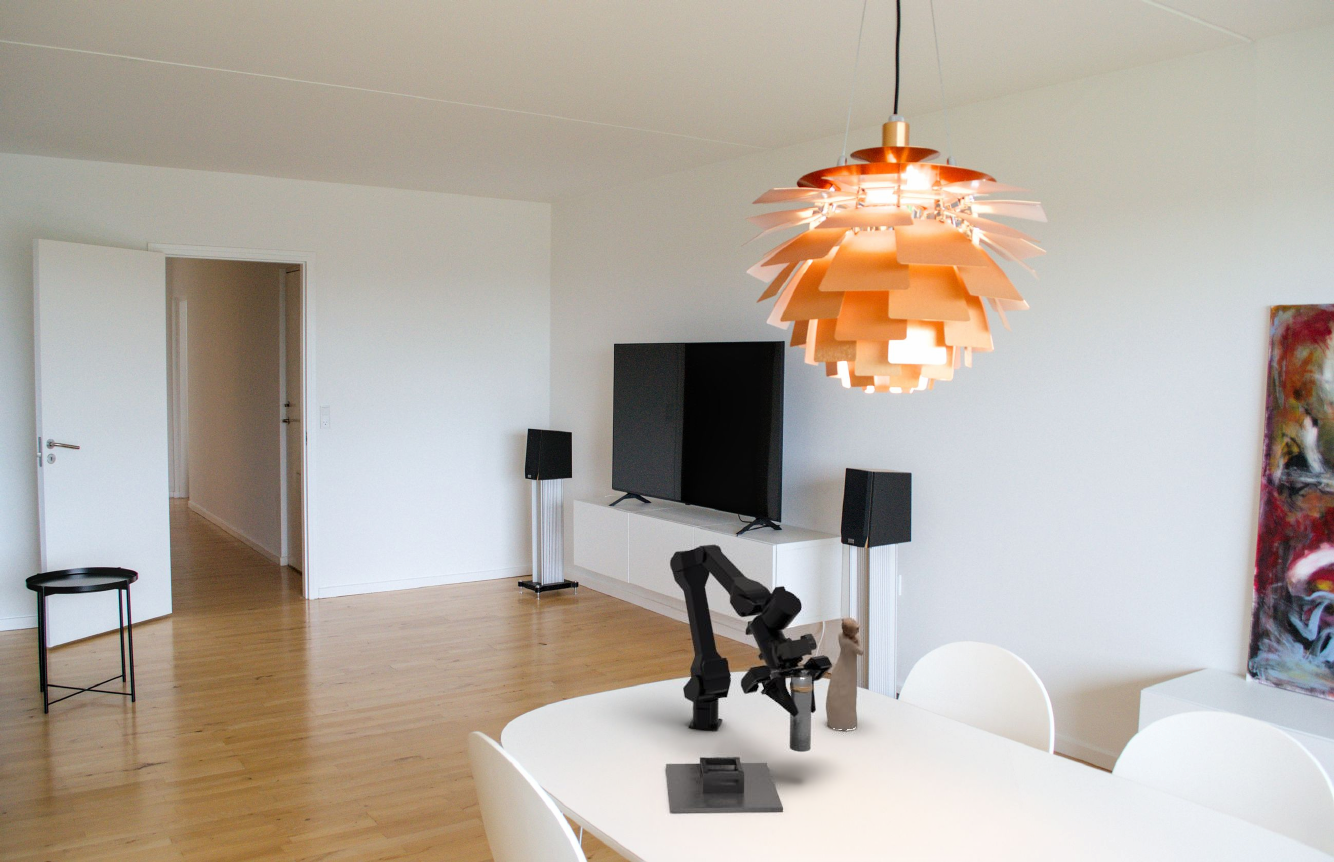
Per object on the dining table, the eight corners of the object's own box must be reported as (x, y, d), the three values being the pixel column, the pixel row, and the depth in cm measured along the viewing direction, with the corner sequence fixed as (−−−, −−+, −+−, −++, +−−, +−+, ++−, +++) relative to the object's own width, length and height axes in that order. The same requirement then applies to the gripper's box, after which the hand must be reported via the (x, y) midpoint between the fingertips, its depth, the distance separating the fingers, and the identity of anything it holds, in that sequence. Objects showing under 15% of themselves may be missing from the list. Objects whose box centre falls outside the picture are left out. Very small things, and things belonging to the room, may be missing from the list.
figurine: (854, 735, 210) (856, 621, 208) (819, 726, 215) (821, 615, 213) (869, 725, 216) (872, 614, 214) (835, 716, 221) (837, 608, 220)
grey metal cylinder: (790, 742, 188) (792, 671, 187) (812, 745, 187) (814, 673, 186) (786, 750, 184) (788, 678, 183) (809, 753, 183) (810, 680, 182)
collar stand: (666, 767, 191) (666, 745, 191) (766, 766, 192) (766, 744, 192) (670, 812, 171) (671, 788, 171) (782, 811, 172) (783, 786, 172)
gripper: (749, 626, 183) (783, 700, 174) (827, 615, 192) (863, 685, 183) (726, 656, 190) (757, 729, 181) (802, 644, 199) (835, 713, 190)
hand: (805, 713), depth 184 cm, fingers closed on grey metal cylinder, 4 cm apart
